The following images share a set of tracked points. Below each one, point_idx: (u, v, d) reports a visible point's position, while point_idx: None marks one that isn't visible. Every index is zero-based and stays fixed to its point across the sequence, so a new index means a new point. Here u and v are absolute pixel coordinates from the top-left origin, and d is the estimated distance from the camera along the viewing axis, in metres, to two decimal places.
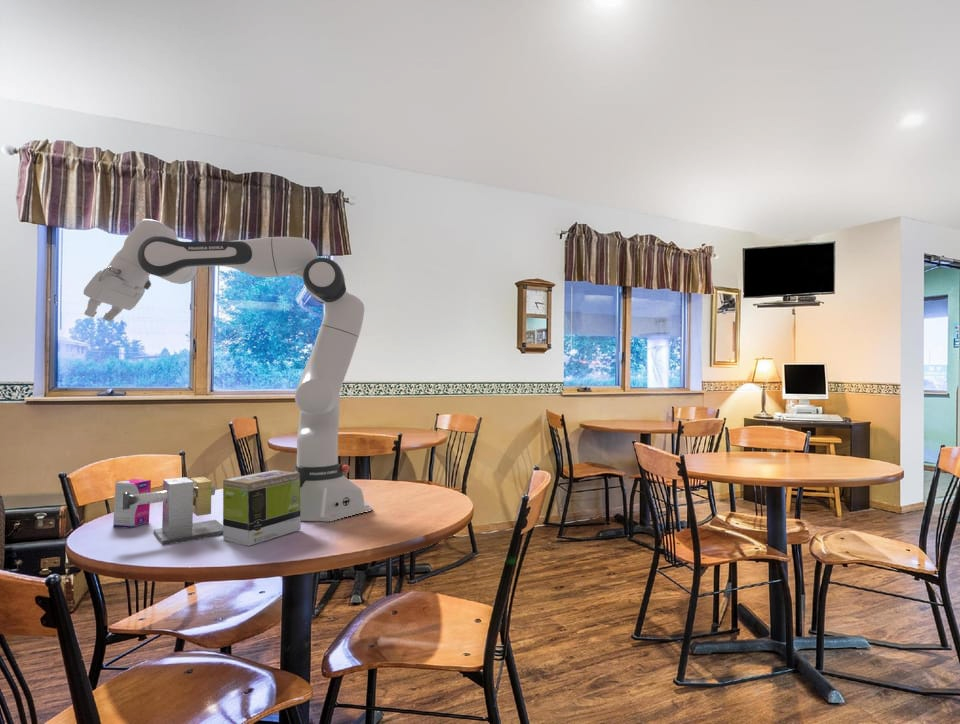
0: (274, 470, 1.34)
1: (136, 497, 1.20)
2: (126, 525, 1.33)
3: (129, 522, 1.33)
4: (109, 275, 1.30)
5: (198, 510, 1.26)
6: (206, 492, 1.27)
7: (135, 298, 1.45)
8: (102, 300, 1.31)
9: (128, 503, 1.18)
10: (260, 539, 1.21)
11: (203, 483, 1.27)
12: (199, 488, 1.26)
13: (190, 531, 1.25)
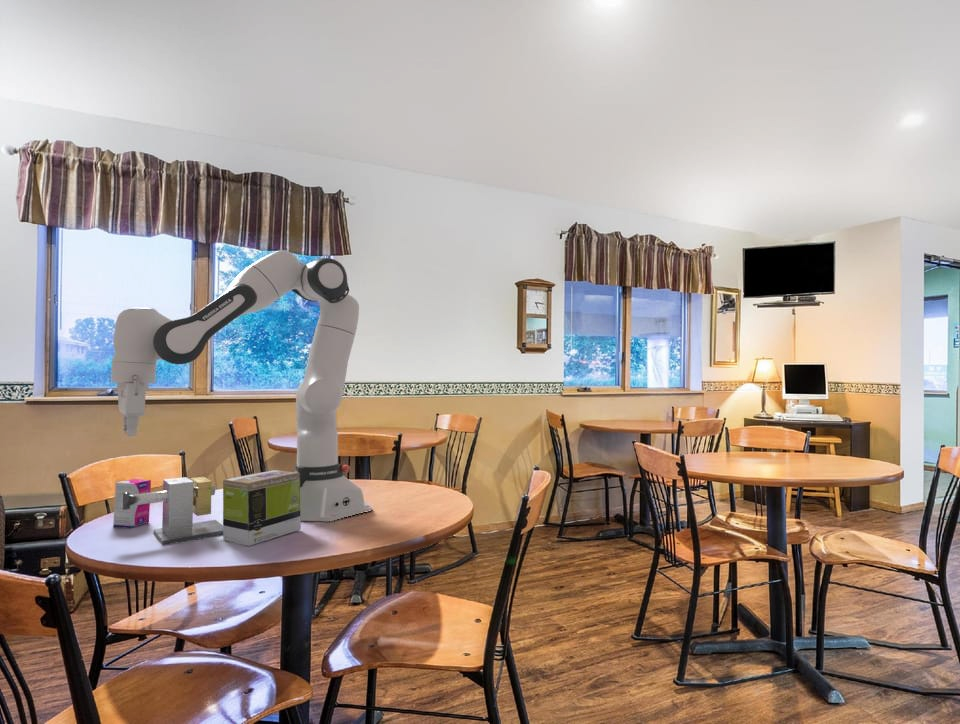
0: (274, 470, 1.34)
1: (136, 497, 1.20)
2: (126, 525, 1.33)
3: (129, 522, 1.33)
4: (140, 385, 1.16)
5: (198, 510, 1.26)
6: (206, 492, 1.27)
7: None
8: None
9: (128, 503, 1.18)
10: (260, 539, 1.21)
11: (203, 483, 1.27)
12: (199, 488, 1.26)
13: (190, 531, 1.25)
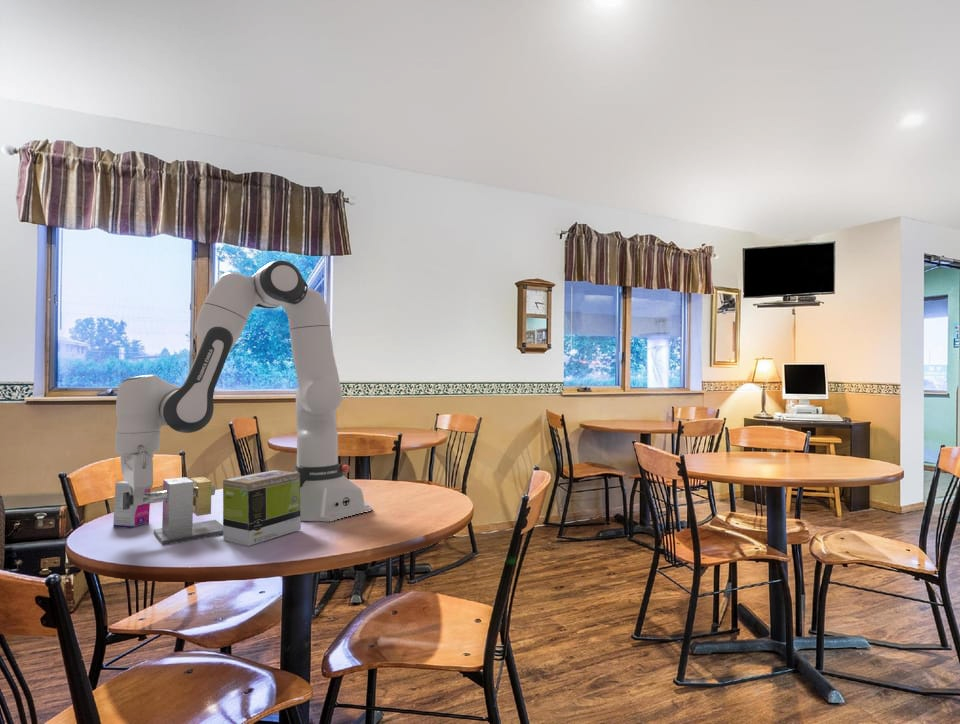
0: (274, 470, 1.34)
1: None
2: (126, 525, 1.33)
3: (129, 522, 1.33)
4: (148, 457, 1.15)
5: (198, 510, 1.26)
6: (205, 492, 1.27)
7: None
8: None
9: (128, 503, 1.18)
10: (260, 539, 1.21)
11: (203, 483, 1.27)
12: (199, 488, 1.26)
13: (190, 531, 1.25)
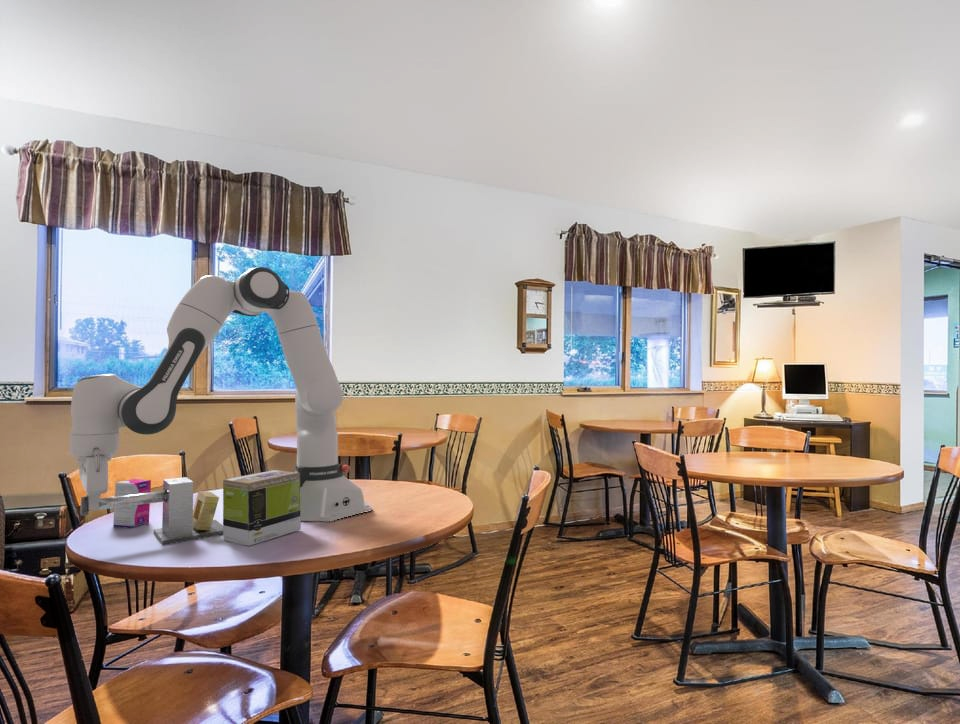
0: (274, 470, 1.34)
1: None
2: (126, 525, 1.33)
3: (129, 522, 1.33)
4: (102, 460, 1.10)
5: (199, 524, 1.26)
6: (211, 507, 1.28)
7: None
8: None
9: (87, 508, 1.14)
10: (260, 539, 1.21)
11: (211, 498, 1.28)
12: (206, 502, 1.27)
13: (190, 531, 1.25)
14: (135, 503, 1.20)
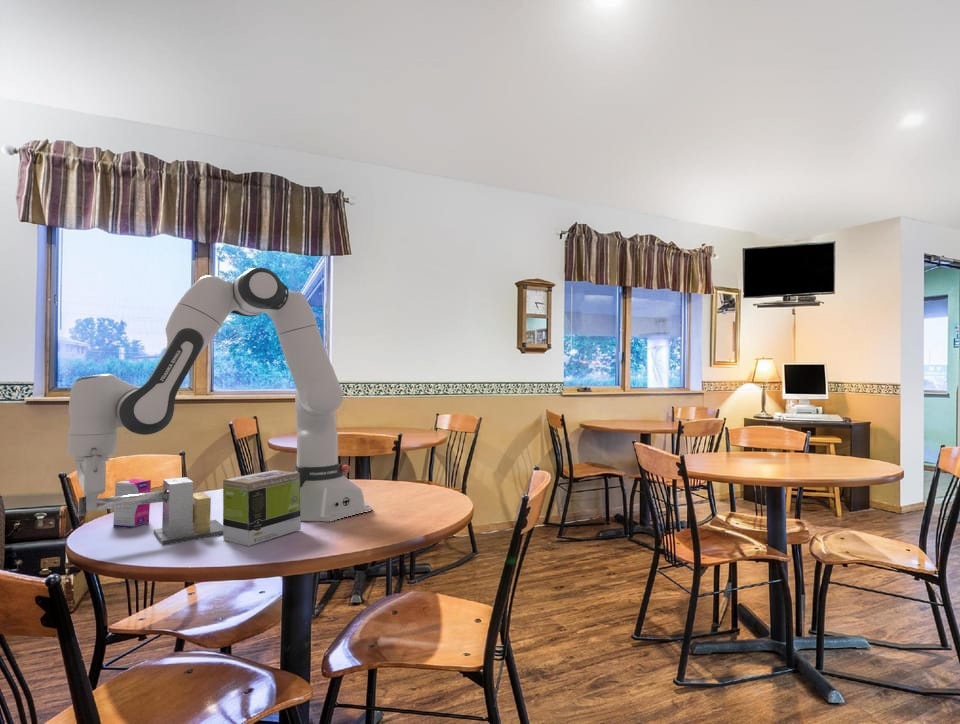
0: (274, 470, 1.34)
1: None
2: (126, 525, 1.33)
3: (129, 522, 1.33)
4: (100, 460, 1.10)
5: (197, 527, 1.26)
6: (205, 508, 1.27)
7: None
8: None
9: (84, 509, 1.13)
10: (260, 539, 1.21)
11: (202, 500, 1.27)
12: (198, 505, 1.26)
13: (190, 531, 1.25)
14: (133, 503, 1.20)
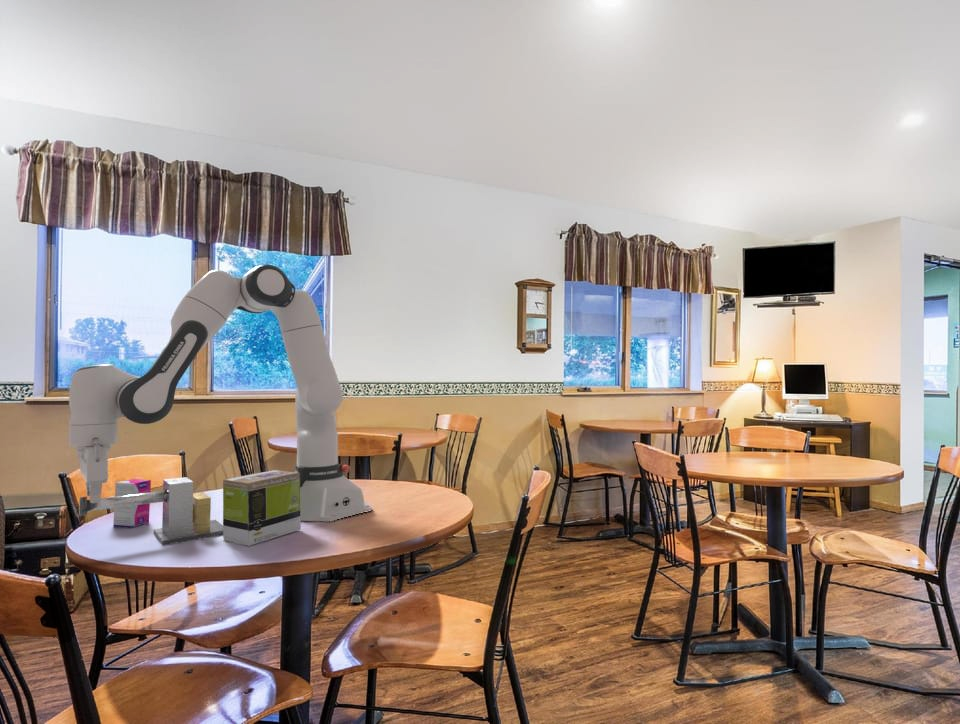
0: (274, 470, 1.34)
1: None
2: (126, 525, 1.33)
3: (129, 522, 1.33)
4: (102, 450, 1.10)
5: (197, 527, 1.26)
6: (205, 508, 1.27)
7: None
8: None
9: (85, 508, 1.13)
10: (260, 539, 1.21)
11: (202, 500, 1.27)
12: (198, 505, 1.26)
13: (190, 531, 1.25)
14: (134, 503, 1.20)
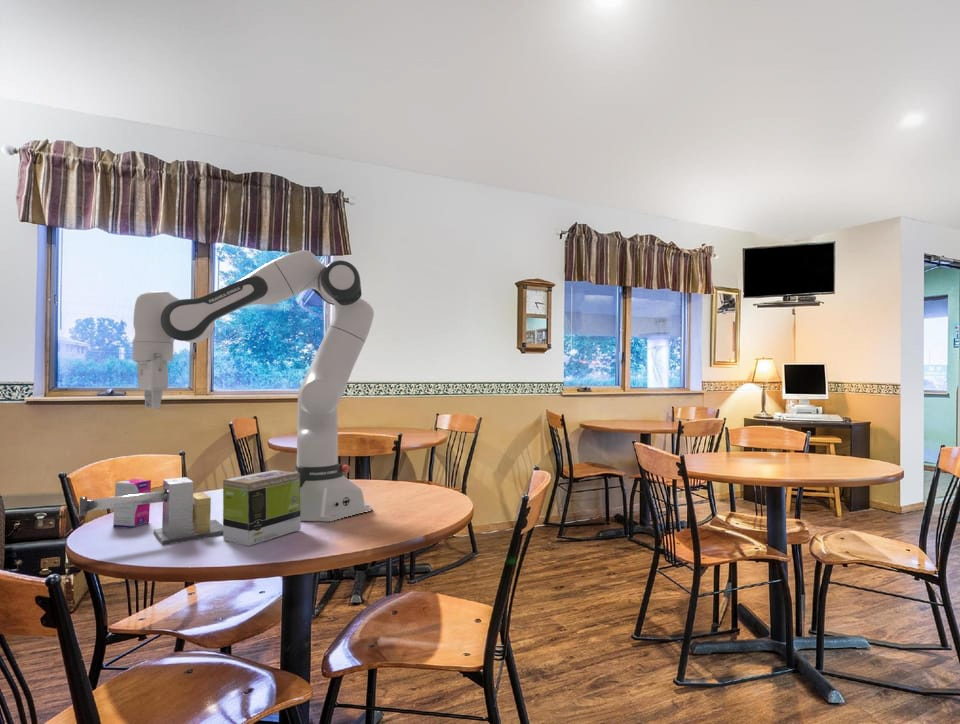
0: (274, 470, 1.34)
1: (94, 502, 1.15)
2: (126, 525, 1.33)
3: (129, 522, 1.33)
4: (163, 362, 1.27)
5: (197, 527, 1.26)
6: (205, 508, 1.27)
7: None
8: None
9: (85, 508, 1.13)
10: (260, 539, 1.21)
11: (202, 500, 1.27)
12: (198, 505, 1.26)
13: (190, 531, 1.25)
14: (134, 503, 1.20)
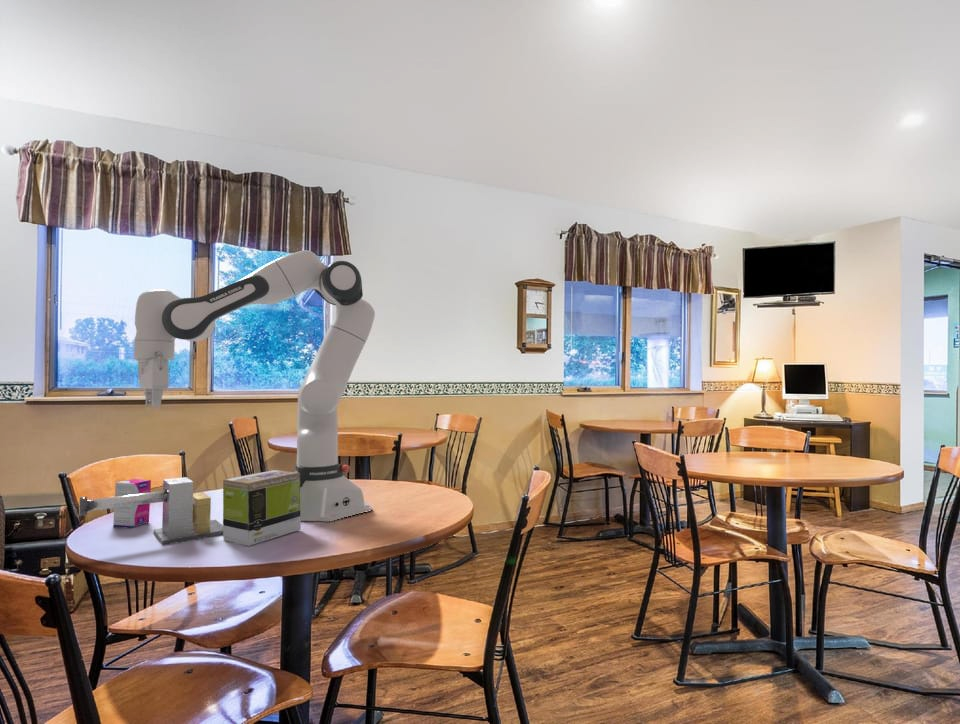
0: (274, 470, 1.34)
1: (94, 502, 1.15)
2: (126, 525, 1.33)
3: (129, 522, 1.33)
4: (164, 360, 1.27)
5: (197, 527, 1.26)
6: (205, 508, 1.27)
7: None
8: None
9: (85, 508, 1.13)
10: (260, 539, 1.21)
11: (202, 500, 1.27)
12: (198, 505, 1.26)
13: (190, 531, 1.25)
14: (134, 503, 1.20)
